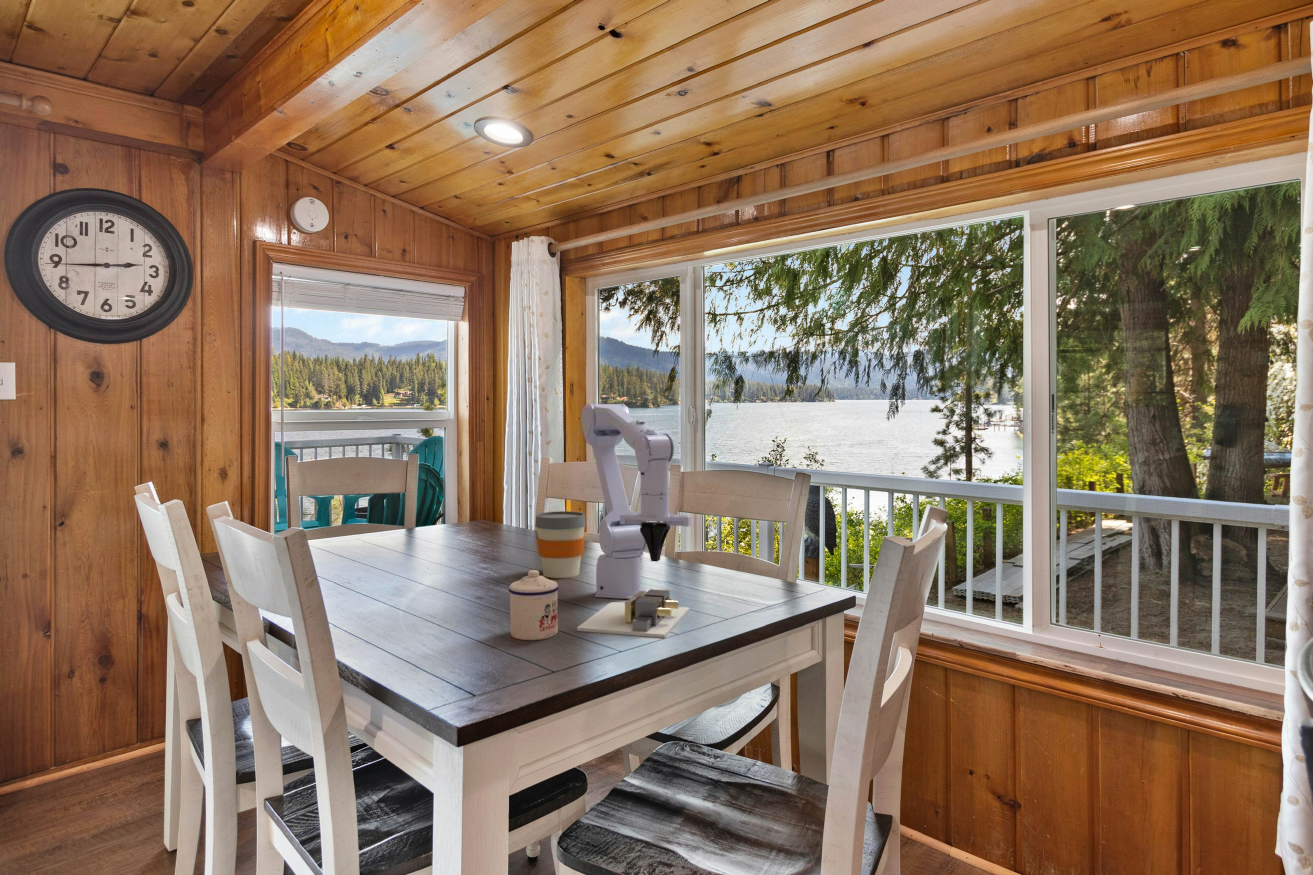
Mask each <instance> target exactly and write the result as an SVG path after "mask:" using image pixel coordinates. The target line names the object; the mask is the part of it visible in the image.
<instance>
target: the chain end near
mask: <svg viewBox="0 0 1313 875" xmlns="http://www.w3.org/2000/svg"><path fill="white" fill-rule="evenodd" d="M657 608H662V597H649V596H642V597H640V598H639V599H638V600H637V601H636V602H635V619H634V620H633V631H645V632H647V631H648V630H649V629H650V628H651V627H652V626H657V625H658V624H659V623H660V622H661V621H662V616H657Z"/></svg>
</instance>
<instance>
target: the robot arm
mask: <svg viewBox="0 0 1313 875" xmlns="http://www.w3.org/2000/svg"><path fill="white" fill-rule="evenodd" d="M580 420H581V426H582V431H583V435H584V440H585V442H586V444H588V445H589V446H591V448H592V452H593V456H594V461H595V465H596V469H597V473H598V478H599V483H600V488H601V491H602V496H603V500H604V505H605V508H606V512H607V514H606V515H605V516H604V517H603V518H602V519H601V521H600V522H599V525H598V534H599V536H598V537H599V538H598V539H599V540H598V542H599V546H600V550H601V551H602V553H603V554H600V555H599V556H598V557H597V561H596V567H595V568H596V569H595V572H596V573H595V574H596V575H595V578H596V579H595V581H596V588H595V589H596V594H595V597H596V598H609V599H620V600H622V599H626V600H629V599H630V598H631V597H632V596H634V595H635V594H636V593H637V592H639V591H646V592H647V589H646V588H641V556H643V555H644V551H645V550H648V552H649V559H650V562H659V561H661V555H662V551H663V547H664V544H665V541H666V538H667V536H668V533H669V532H670V529H671V526H683V527H691V525H692V522H691V521H692V519H691V518H692V516H691V515H683V514H670V494H669V493H670V491H669V490H670V488H669V486H670V485H669V484H670V483H669V480H670V479H669V478H670V477H669V474H670V473H669V462H671V461H672V459H673V457H674V453H675V446H674V442H673V439H672V437H671V436H670V434H669V433H662V434H659V433H658V432H656V431H655V429H653V428H652V427H650V426H649V425H648V424H646V421H645V420H644V419H636V420H634V419H633V418H632V417H631V415H630V412H629V407H628V406H627V405H626V404H624V403H619V404H618V403H615V404H614V403H610V404H608V403H607V404H606V403H603V404H602V403H597V404H596V403H595V404H592V403H586V404H585V405H584V407H583V408H582V411H581V419H580ZM623 441H624V442H625V443H626V444H627V445H628V446H629V447H630V448H631V449H633V450H634V454H635V458H636V461H637V469H638V472H640V513H637V512H635V511H633V510H632V509H630V506H629V502H628V498H627V493H626V490H625V486H624V480H623V477H622V472H621V470H620V465H619V461H618V457H617V454H616V448H615V446H617V445H618V444H621V443H622V442H623Z"/></svg>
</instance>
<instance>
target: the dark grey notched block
mask: <svg viewBox="0 0 1313 875" xmlns="http://www.w3.org/2000/svg"><path fill="white" fill-rule="evenodd" d="M644 596H649V597H662V608H665V600H670V601H672V598H670V596H671V593H670V590H667V589H665V590H664V589H653V588H650V589H649V590H648V591H646V593H645V594H644ZM665 617H666V616H662V618H665Z"/></svg>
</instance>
